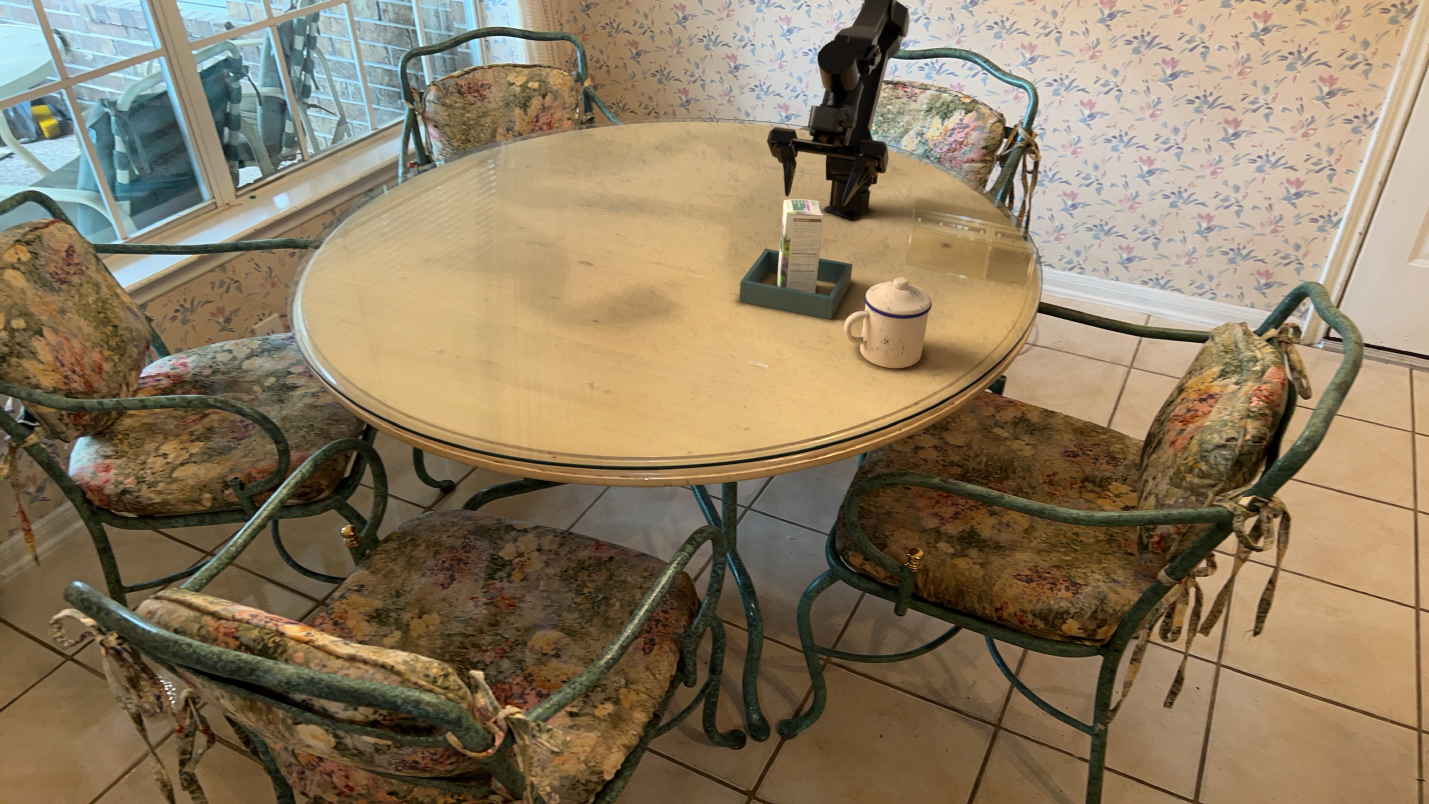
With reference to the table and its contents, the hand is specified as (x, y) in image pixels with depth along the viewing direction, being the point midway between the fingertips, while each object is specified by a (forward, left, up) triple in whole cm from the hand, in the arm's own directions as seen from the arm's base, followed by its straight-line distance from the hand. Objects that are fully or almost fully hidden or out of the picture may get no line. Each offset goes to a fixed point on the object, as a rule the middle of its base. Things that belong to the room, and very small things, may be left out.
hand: (814, 200), depth 141 cm
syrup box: (+3, -7, -13) cm, 15 cm away
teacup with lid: (+23, -13, -13) cm, 29 cm away
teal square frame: (+3, -7, -13) cm, 15 cm away
